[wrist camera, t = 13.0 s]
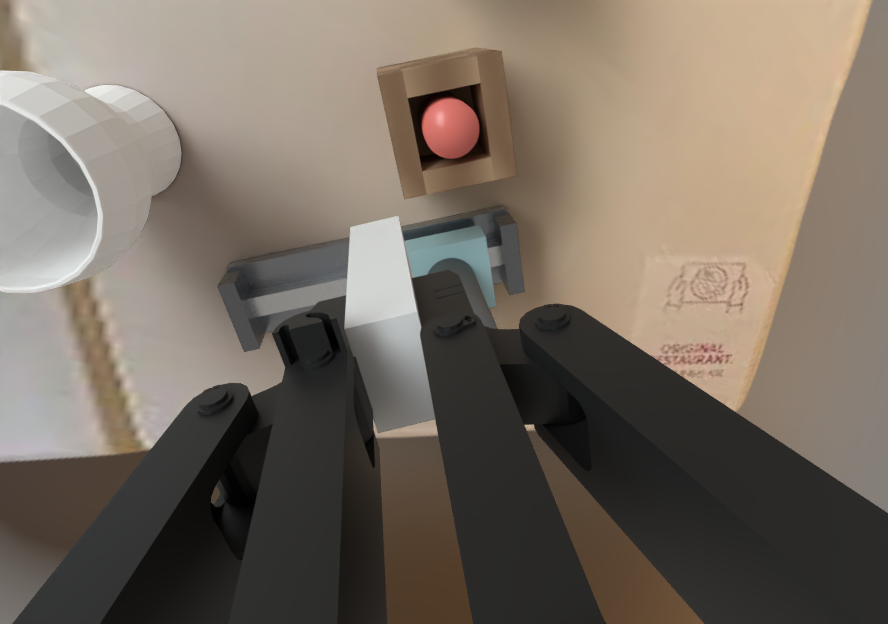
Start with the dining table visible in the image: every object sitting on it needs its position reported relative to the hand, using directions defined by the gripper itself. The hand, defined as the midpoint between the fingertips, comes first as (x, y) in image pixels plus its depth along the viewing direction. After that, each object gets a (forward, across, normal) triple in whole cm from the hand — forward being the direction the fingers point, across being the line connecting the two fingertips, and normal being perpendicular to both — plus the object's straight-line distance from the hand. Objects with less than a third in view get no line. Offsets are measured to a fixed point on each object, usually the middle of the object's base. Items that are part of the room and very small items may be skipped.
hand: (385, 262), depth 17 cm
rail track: (+26, -2, -10) cm, 28 cm away
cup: (+27, -17, +3) cm, 32 cm away
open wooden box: (+26, +5, 0) cm, 26 cm away
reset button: (+21, +5, 0) cm, 21 cm away
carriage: (+24, +3, -10) cm, 26 cm away
